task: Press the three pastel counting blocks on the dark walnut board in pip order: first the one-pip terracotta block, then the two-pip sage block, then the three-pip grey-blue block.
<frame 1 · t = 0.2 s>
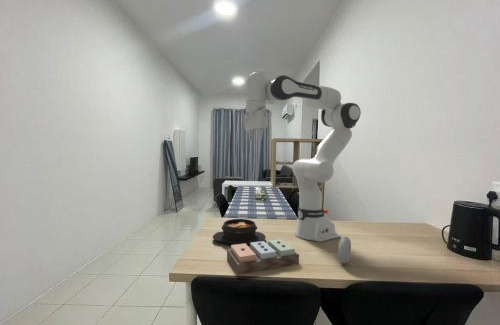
hand: (255, 139, 109), 47 cm above the table, fingers open, 8 cm apart
casserole: (239, 240, 114), on the table
counting block 3: (262, 250, 93), point 4 cm above the table, slide at 0.0 cm
counting block 2: (280, 248, 96), point 4 cm above the table, slide at 0.0 cm
counting block 1: (242, 253, 90), point 4 cm above the table, slide at 0.0 cm
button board: (262, 260, 93), on the table
donut: (344, 263, 93), on the table
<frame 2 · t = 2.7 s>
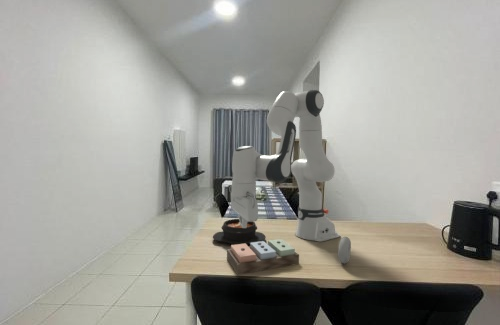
hand: (243, 226, 90), 14 cm above the table, fingers closed
nothing on the table moved.
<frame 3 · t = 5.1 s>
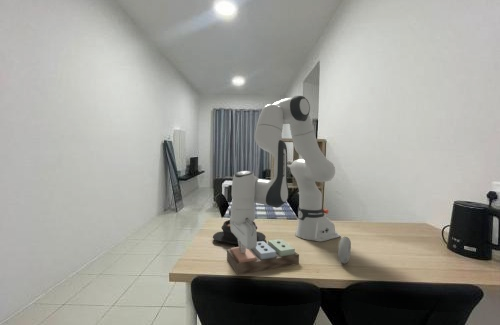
hand: (242, 251, 90), 5 cm above the table, fingers closed, pressing on counting block 1
counting block 1: (242, 256, 90), point 3 cm above the table, slide at 1.1 cm, touching gripper
everything else where it was.
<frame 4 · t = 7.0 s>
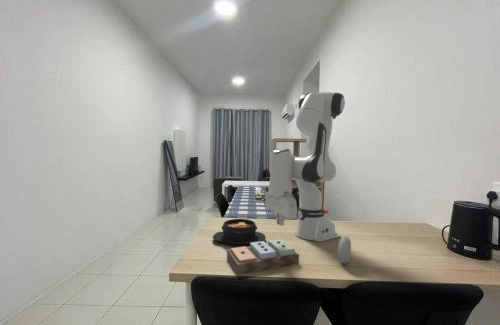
hand: (280, 224, 96), 13 cm above the table, fingers closed
counting block 1: (242, 256, 90), point 3 cm above the table, slide at 1.2 cm
everything else where it was.
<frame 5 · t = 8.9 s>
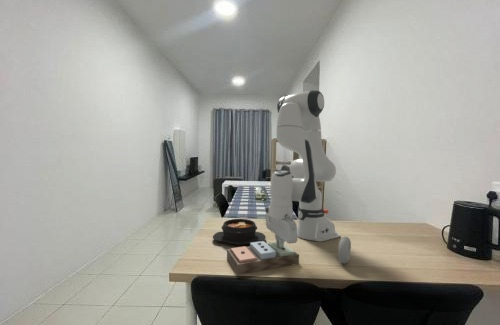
hand: (279, 246, 96), 5 cm above the table, fingers closed, pressing on counting block 2
counting block 2: (280, 250, 96), point 3 cm above the table, slide at 1.1 cm, touching gripper
everything else where it was.
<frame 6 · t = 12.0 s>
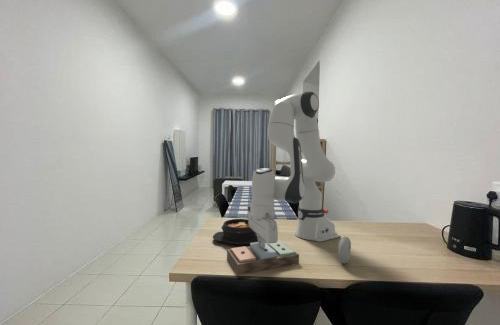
hand: (261, 246, 93), 6 cm above the table, fingers closed, pressing on counting block 3
counting block 3: (262, 251, 93), point 4 cm above the table, slide at 0.1 cm, touching gripper
counting block 2: (280, 251, 96), point 3 cm above the table, slide at 1.2 cm
everything else where it was.
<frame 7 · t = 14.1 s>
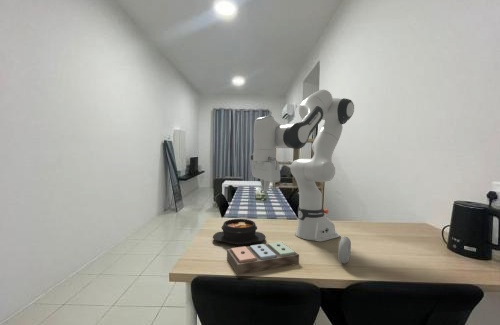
hand: (265, 190, 98), 26 cm above the table, fingers closed
counting block 3: (262, 253, 93), point 3 cm above the table, slide at 1.2 cm
everything else where it was.
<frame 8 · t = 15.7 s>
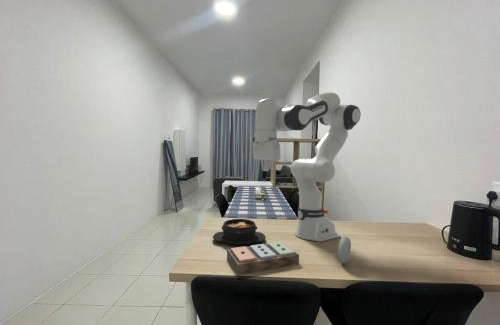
hand: (265, 170, 101), 34 cm above the table, fingers closed
nothing on the table moved.
at the end: counting block 1 slide at 1.2 cm; counting block 2 slide at 1.2 cm; counting block 3 slide at 1.2 cm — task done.
